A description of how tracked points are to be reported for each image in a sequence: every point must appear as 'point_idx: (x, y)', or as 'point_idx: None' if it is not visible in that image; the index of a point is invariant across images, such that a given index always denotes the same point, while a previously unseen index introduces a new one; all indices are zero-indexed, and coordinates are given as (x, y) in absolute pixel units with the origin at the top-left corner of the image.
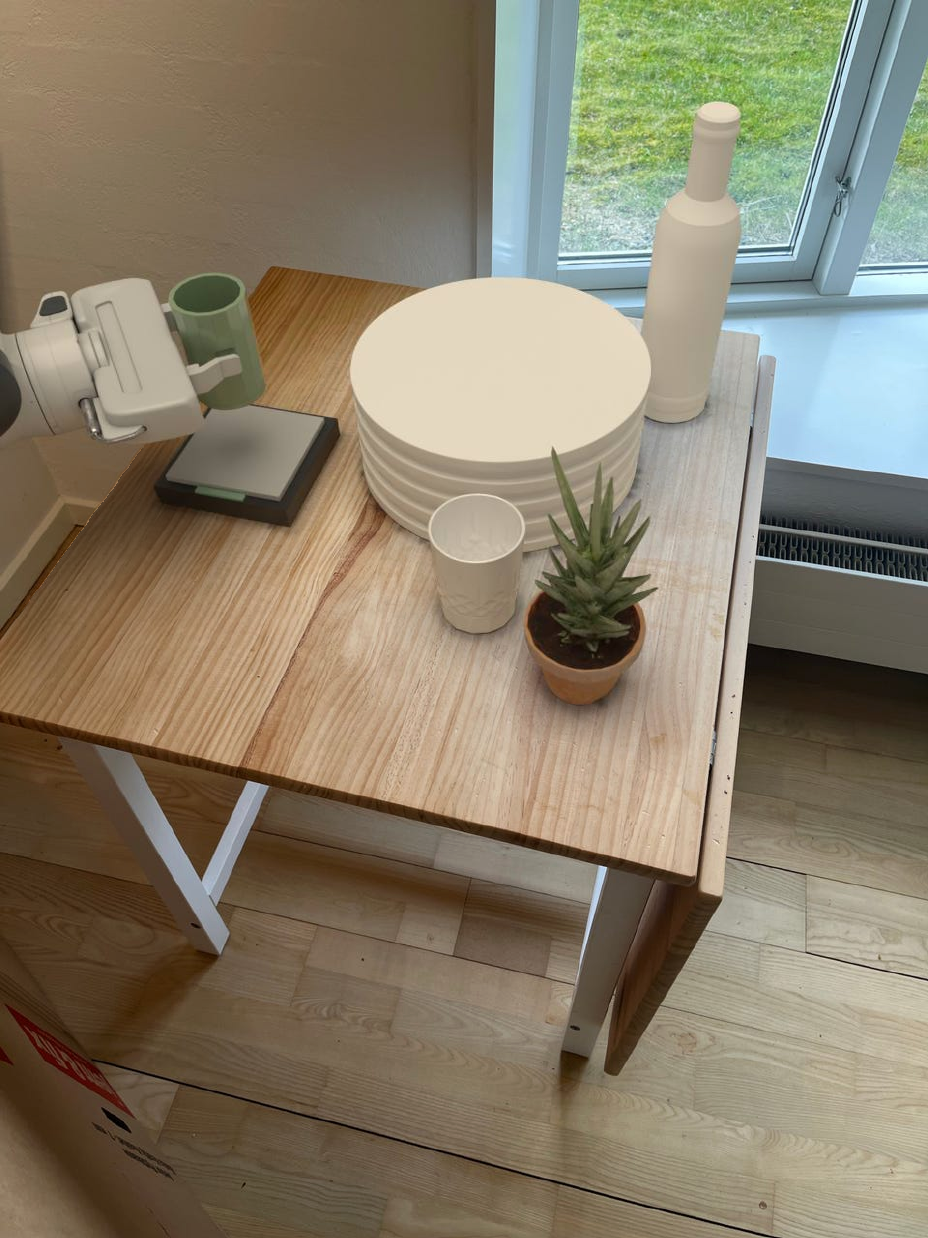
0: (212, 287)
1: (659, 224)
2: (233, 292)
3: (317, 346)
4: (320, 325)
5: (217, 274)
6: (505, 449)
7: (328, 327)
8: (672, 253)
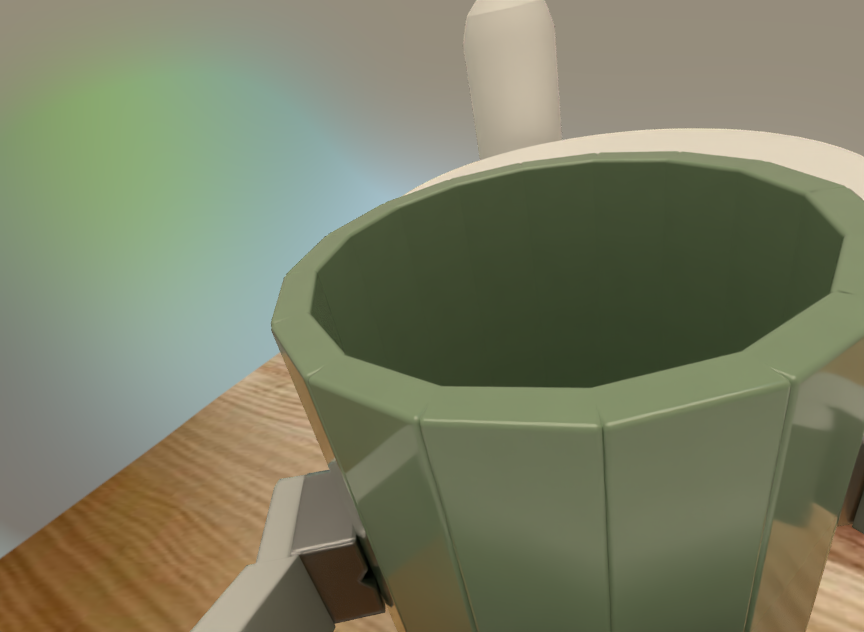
0: (358, 323)
1: (498, 32)
2: (430, 278)
3: (195, 570)
4: (138, 557)
5: (347, 233)
6: (851, 172)
7: (157, 543)
8: (536, 42)
